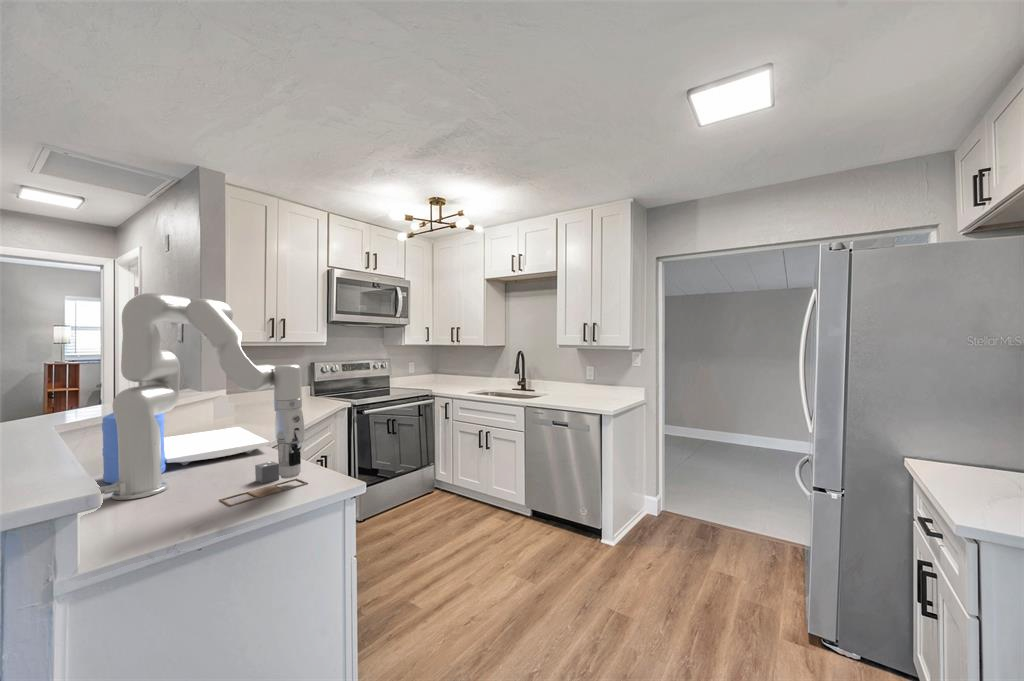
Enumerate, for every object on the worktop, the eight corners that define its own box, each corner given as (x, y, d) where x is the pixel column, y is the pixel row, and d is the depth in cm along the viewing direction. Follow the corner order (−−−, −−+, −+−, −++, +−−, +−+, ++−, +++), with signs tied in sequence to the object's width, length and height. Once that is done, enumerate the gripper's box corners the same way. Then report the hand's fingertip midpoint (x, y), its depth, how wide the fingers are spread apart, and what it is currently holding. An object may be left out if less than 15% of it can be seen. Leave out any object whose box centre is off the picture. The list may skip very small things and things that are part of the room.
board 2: (229, 506, 113) (229, 505, 113) (219, 500, 118) (219, 499, 118) (308, 483, 130) (308, 482, 130) (296, 479, 135) (296, 478, 135)
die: (262, 483, 131) (262, 467, 131) (255, 480, 134) (255, 464, 134) (279, 479, 135) (278, 463, 135) (272, 476, 138) (271, 460, 138)
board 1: (150, 450, 177) (150, 439, 177) (239, 436, 200) (238, 426, 200) (167, 472, 146) (166, 459, 146) (269, 453, 169) (269, 441, 169)
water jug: (147, 482, 135) (145, 395, 135) (89, 486, 132) (87, 397, 132) (175, 467, 150) (173, 389, 150) (124, 471, 147) (122, 391, 147)
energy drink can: (305, 473, 131) (304, 425, 131) (288, 480, 126) (287, 429, 126) (291, 472, 134) (290, 424, 134) (274, 478, 128) (273, 428, 128)
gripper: (314, 405, 127) (315, 464, 127) (287, 401, 138) (288, 456, 138) (289, 409, 121) (290, 471, 121) (262, 404, 132) (264, 461, 132)
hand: (289, 462), depth 130 cm, fingers closed on energy drink can, 6 cm apart
